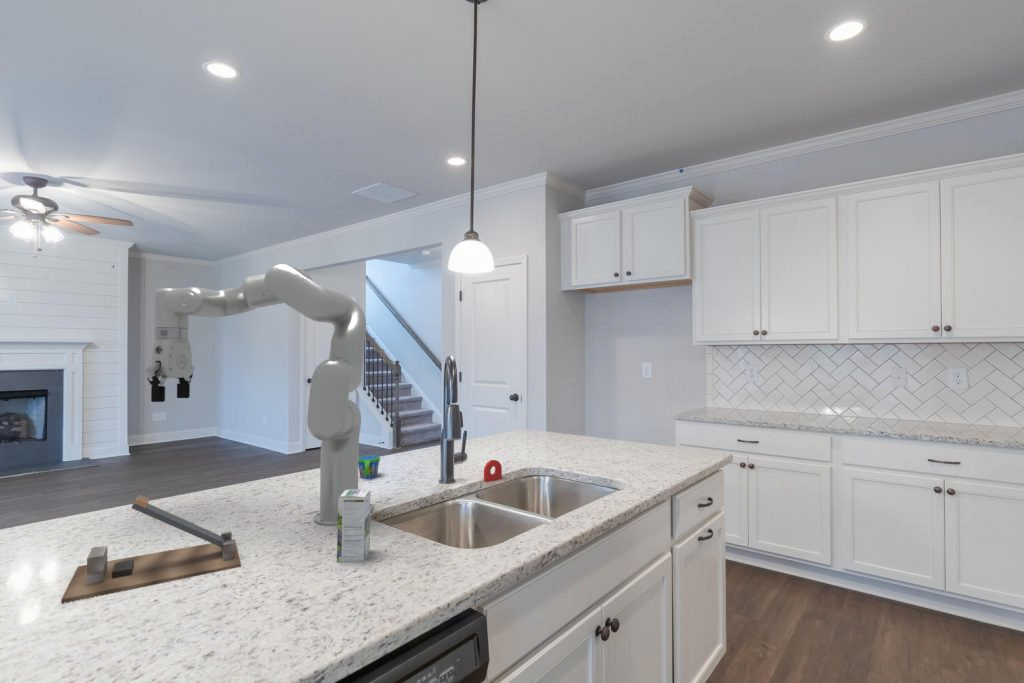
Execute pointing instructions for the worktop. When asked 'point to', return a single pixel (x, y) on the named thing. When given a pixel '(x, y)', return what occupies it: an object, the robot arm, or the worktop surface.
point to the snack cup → (368, 466)
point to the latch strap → (177, 522)
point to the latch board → (148, 568)
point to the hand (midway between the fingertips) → (171, 399)
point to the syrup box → (353, 525)
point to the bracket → (496, 474)
